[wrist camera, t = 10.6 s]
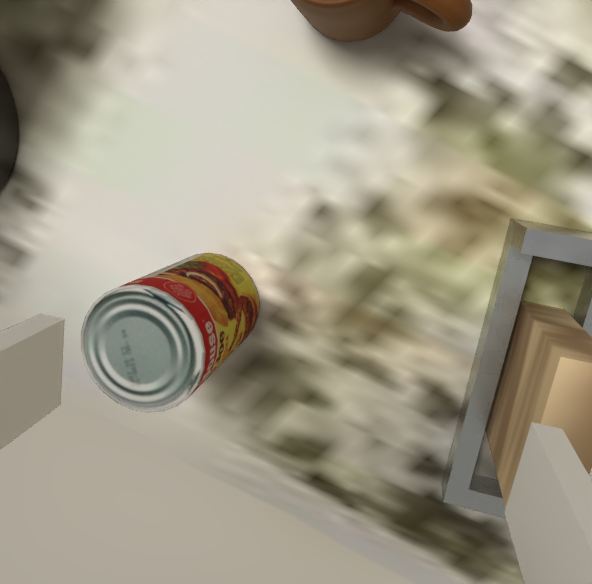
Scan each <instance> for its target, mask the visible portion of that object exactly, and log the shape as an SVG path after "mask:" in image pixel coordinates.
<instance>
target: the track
mask: <svg viewBox="0 0 592 584" xmlns="http://www.w3.org/2000/svg"><path fill="white" fill-rule="evenodd" d="M533 256H538V257H543V258H548V259H554V260H559V261H564V262H570V263H575V264H580V265H585V266H589V267H588V270H587V274H586V277H585V280H584V284H583V287H582V290H581V293H580V297H579V300H578V303H577V307H576V310H575V313H574V317H573V319H574V320H575V321H576V322H577V323H578V324H579V325H580V326H581V327H582V328H583V329H584V330H585V331H586V332H587V333H588V334H589V335H590V336H591V337H592V233H591V232H585V231H579V230H574V229H568V228H563V227H557V226H552V225H546V224H540V223H535V222H529V221H524V220H518V219H512V218H511V220H510V224H509V227H508V231H507V235H506V239H505V243H504V247H503V251H502V254H501V258H500V262H499V266H498V270H497V274H496V277H495V281H494V285H493V289H492V293H491V297H490V301H489V304H488V308H487V312H486V316H485V320H484V324H483V327H482V331H481V335H480V339H479V343H478V347H477V351H476V354H475V358H474V362H473V366H472V370H471V374H470V377H469V381H468V385H467V389H466V393H465V397H464V401H463V404H462V408H461V412H460V416H459V420H458V424H457V427H456V431H455V435H454V439H453V443H452V447H451V451H450V454H449V458H448V462H447V466H446V470H445V474H444V477H443V481H442V494H443V502H445V503H449V504H453V505H457V506H461V507H464V508H468V509H472V510H476V511H480V512H483V513H487V514H491V515H495V516H499V517H503V518H506V516H505V513H504V512H505V505H504V501H503V497H502V493H501V489H500V485H499V481H498V480H494V479H490V478H486V477H482V476H478V475H474V474H473V471H474V468H475V464H476V461H477V457H478V453H479V450H480V446H481V442H482V439H483V435H484V431H485V428H486V424H487V420H488V417H489V413H490V410H491V406H492V402H493V399H494V395H495V391H496V388H497V384H498V380H499V377H500V373H501V370H502V366H503V362H504V359H505V355H506V351H507V348H508V344H509V340H510V337H511V333H512V330H513V326H514V322H515V319H516V315H517V311H518V308H519V304H520V300H521V297H522V293H523V289H524V286H525V282H526V279H527V275H528V271H529V268H530V264H531V260H532V257H533Z"/></svg>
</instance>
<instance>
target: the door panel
mask: <svg viewBox="0 0 592 584" xmlns="http://www.w3.org/2000/svg"><path fill="white" fill-rule="evenodd" d="M532 422H533V423H538V424H542V425H547V426H552V427H556V428H561V429H563V431H564V433H565V434H566V436H567V438H568V440H569V441H570V443H571V445H572V447H573V448H574V450H575V452H576V454H577V455H578V457H579V459H580V461H581V462H582V464H583V466H584V468H585V469H586V471H587V473H588V475H589V473H590V470H591V467H592V337H591V336H590V335H589V334H588V333H587V332H586V331H585V330H584V329H583V328H582V327H581V326H580V325H579V324H578V323H577V322H576V321H575V320H574V319H573V318H572V317H571V316H570V315H569V314H568V313H567V312H566V311H565V309H561V308H556V307H551V306H546V305H541V304H536V303H531V302H526V301H521V300H520V304H519V308H518V311H517V315H516V319H515V322H514V326H513V330H512V333H511V337H510V340H509V344H508V348H507V351H506V355H505V359H504V362H503V366H502V370H501V373H500V377H499V380H498V384H497V388H496V391H495V395H494V399H493V402H492V406H491V410H490V413H489V417H488V420H487V424H486V428H485V429H486V433H487V437H488V441H489V445H490V449H491V453H492V457H493V461H494V465H495V469H496V473H497V477H498V481H499V485H500V489H501V493H502V497H503V501H504V505H505V509H506V506H507V502H508V499H509V496H510V492H511V489H512V486H513V482H514V479H515V476H516V472H517V469H518V466H519V463H520V459H521V456H522V453H523V449H524V446H525V443H526V439H527V436H528V433H529V429H530V426H531V423H532Z"/></svg>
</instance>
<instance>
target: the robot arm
mask: <svg viewBox="0 0 592 584" xmlns="http://www.w3.org/2000/svg"><path fill="white" fill-rule="evenodd" d="M17 144H18V122H17V114H16V109H15V105H14V101H13V97H12V94H11V91H10V89H9V86H8V84H7V82H6V80H5V78H4V76H3V74H2V72H1V70H0V190H1V188H2V187H3V185H4V184H5V182H6V180H7V179H8V177H9V175H10V172H11V170H12V167H13V164H14V160H15V156H16V151H17ZM63 340H64V319H62V318H57V317H53V316H48V315H44V314H39V315H36V316H34V317H32V318H30V319H28V320H25V321H23V322H21V323H19V324H17V325H14V326H12V327H10V328H8V329H6V330H3V331H1V332H0V449H2V448H3V447H5V446H6V445H7V444H9V443H10V442H11V441H13V440H14V439H15V438H17V437H18V436H19V435H21V434H22V433H23V432H25V431H26V430H27V429H28V428H30V427H31V426H33V425H34V424H35V423H37V422H38V421H39V420H41V419H42V418H43V417H45V416H46V415H47V414H49V413H50V412H51V411H52V410H54V409H55V408H57V407H58V406H59V405H60V404H61V383H62V361H63ZM504 513H505V516H506V520H507V523H508V527H509V531H510V534H511V538H512V541H513V545H514V548H515V552H516V556H517V559H518V563H519V566H520V570H521V574H522V577H523V581H524V584H592V480H591V478H590V476H589V475H588V473H587V471H586V469H585V468H584V466H583V464H582V462H581V461H580V459H579V457H578V455H577V454H576V452H575V450H574V448H573V447H572V445H571V443H570V441H569V440H568V438H567V436H566V434H565V433H564V431H563V429H561V428H556V427H552V426H547V425H542V424H538V423H533V422H532V423H531V426H530V429H529V433H528V436H527V439H526V443H525V446H524V449H523V453H522V456H521V459H520V463H519V466H518V469H517V472H516V476H515V479H514V482H513V486H512V489H511V492H510V496H509V499H508V502H507V506H506V509H505V512H504Z"/></svg>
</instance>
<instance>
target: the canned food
mask: <svg viewBox="0 0 592 584" xmlns="http://www.w3.org/2000/svg"><path fill="white" fill-rule="evenodd" d="M258 315H259V298H258V292H257V289H256V287H255V284H254V282H253V280H252V278H251V277H250V275H249V274H248V273H247V272H246V270H245V269H244V268H243V267H242V266H240V265H239V264H238V263H236V262H235V261H234V260H232V259H230V258H228V257H225V256H223V255H220V254H213V253H203V254H196V255H193V256H191V257H189V258H186V259H184V260H181V261H179V262H177V263H174V264H172V265H170V266H167V267H165V268H162V269H160V270H158V271H155V272H153V273H151V274H148V275H146V276H144V277H141V278H139V279H136V280H134V281H132V282H129V283H127V284H125V285H122V286H120V287H118V288H115V289H113V290H111V291H109V292H107V293H105V294H103V295H102V296H101V297H100V298H99V299H98V300H97V301H96V302H95V303H93V305H92V306H91V308H90V310H89V311H88V313H87V315H86V316H85V319H84V323H83V327H82V331H81V350H82V354H83V358H84V362H85V365H86V367H87V369H88V371H89V373H90V375H91V377H92V379H93V380H94V382H95V383H96V384H97V385H98V386H99V388H100V389H101V390H102V391H103V392H104V393H105V394H106V395H107V396H109V397H110V398H111V399H113V400H114V401H115V402H117V403H119V404H121V405H123V406H125V407H127V408H130V409H132V410H137V411H143V412H159V411H165V410H168V409H170V408H173V407H176V406H178V405H179V404H180V403H182V402H183V401H184V400H186V399H187V398H188V397H190V396H191V394H192V393H193V392H194V391H195V390H196V389H197V388H198V387H199V386H200V385H201V384H202V383H203V382H204V381H205V380H206V379H207V378H208V377H209V376H210V375H211V374H212V373H213V372H214V371H215V370H216V369H217V368H218V367H219V366H220V365H221V363H222V362H223V361H224V360H225V359H226V358H227V357H228V356H229V355H230V354H231V353H232V352H233V351H234V350H235V349H236V348H237V347H238V346H239V345H240V344H241V343H242V342H243V341H244V340H245V339H246V338H247V337H248V335H249V334H250V332H251V331H252V330H253V328H254V326H255V324H256V321H257V318H258Z"/></svg>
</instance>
